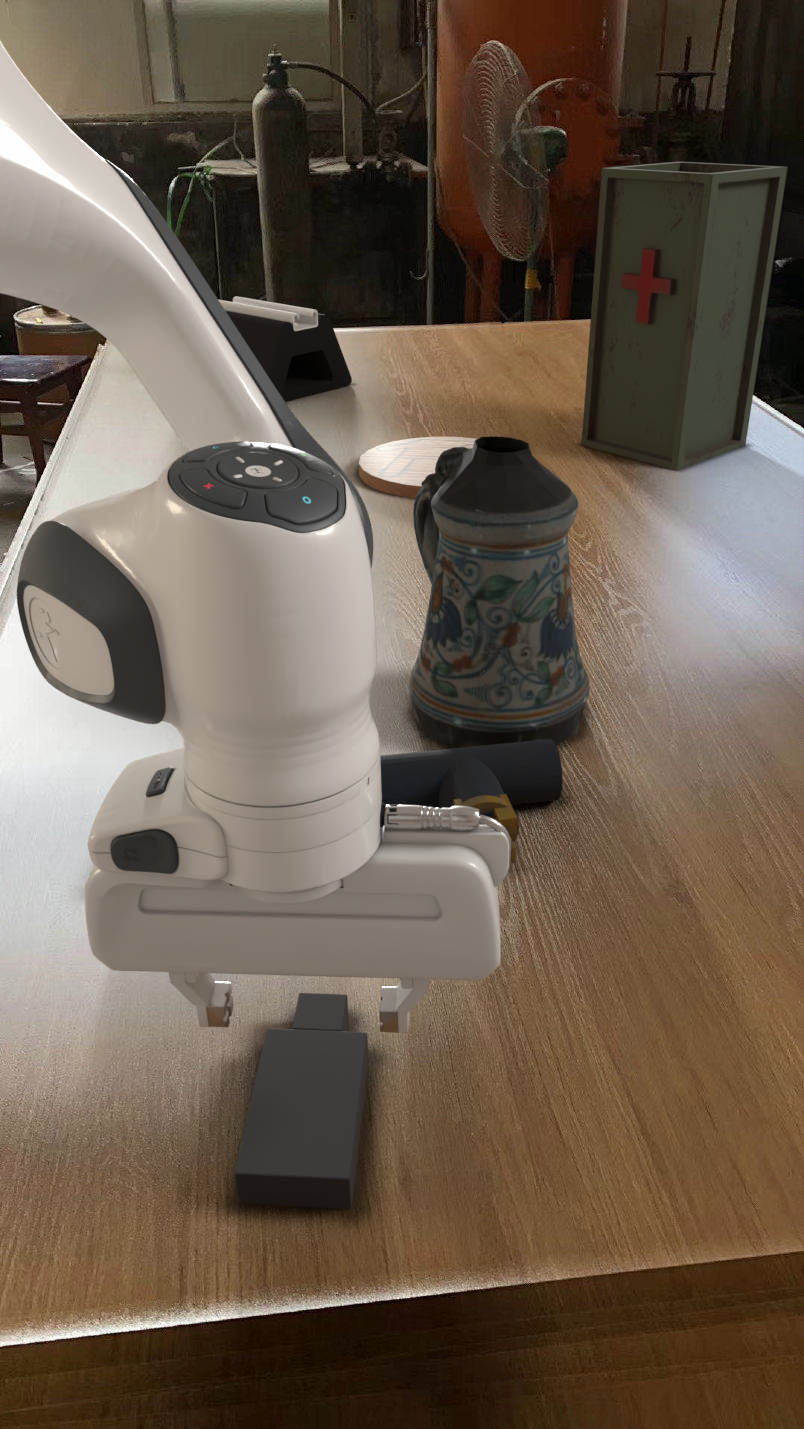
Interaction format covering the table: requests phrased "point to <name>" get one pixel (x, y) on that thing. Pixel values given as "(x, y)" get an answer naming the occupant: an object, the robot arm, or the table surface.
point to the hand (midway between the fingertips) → (305, 1021)
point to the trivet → (405, 463)
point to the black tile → (306, 1110)
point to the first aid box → (679, 308)
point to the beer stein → (497, 600)
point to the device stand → (291, 346)
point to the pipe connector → (476, 779)
